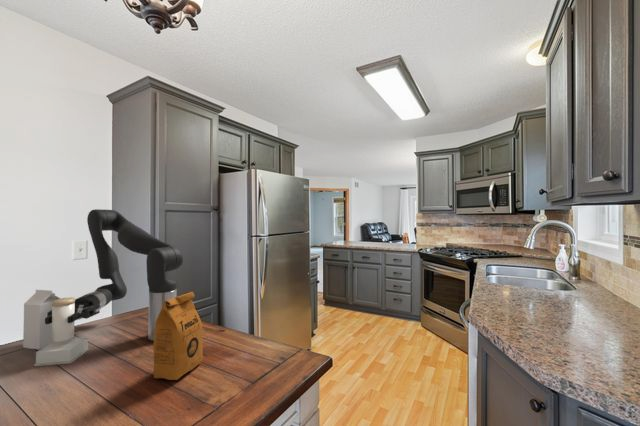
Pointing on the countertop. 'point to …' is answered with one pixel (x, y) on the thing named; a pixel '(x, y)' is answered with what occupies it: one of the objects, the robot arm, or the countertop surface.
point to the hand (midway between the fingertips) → (58, 320)
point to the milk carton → (38, 320)
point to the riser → (61, 352)
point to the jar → (62, 319)
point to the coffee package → (177, 338)
